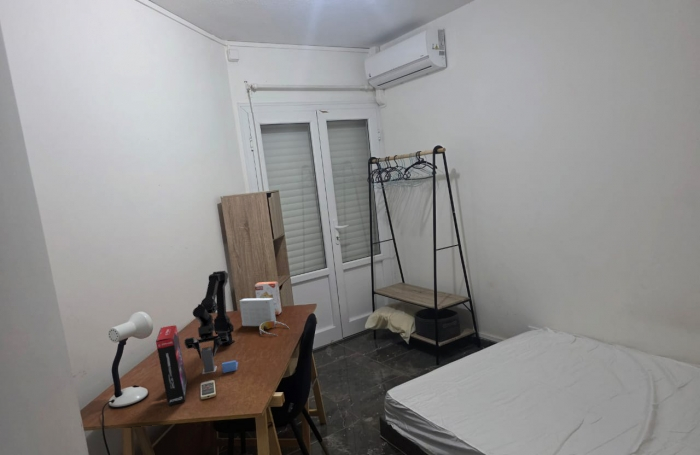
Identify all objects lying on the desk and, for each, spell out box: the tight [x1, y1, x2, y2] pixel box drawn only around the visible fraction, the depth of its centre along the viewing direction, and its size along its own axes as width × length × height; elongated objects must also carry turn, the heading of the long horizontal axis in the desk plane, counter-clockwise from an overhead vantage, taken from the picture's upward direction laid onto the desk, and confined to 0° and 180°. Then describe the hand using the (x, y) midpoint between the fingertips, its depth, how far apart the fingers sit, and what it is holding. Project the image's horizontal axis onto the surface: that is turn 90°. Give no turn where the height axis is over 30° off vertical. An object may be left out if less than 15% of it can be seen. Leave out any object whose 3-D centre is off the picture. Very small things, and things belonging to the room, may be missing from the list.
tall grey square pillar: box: [201, 346, 216, 373], centre depth 184 cm, size 4×4×10 cm
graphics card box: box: [155, 324, 188, 407], centre depth 165 cm, size 17×7×27 cm, turn 20°
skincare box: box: [238, 297, 277, 327], centre depth 243 cm, size 21×5×16 cm, turn 71°
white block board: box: [201, 359, 239, 375], centre depth 186 cm, size 20×13×5 cm, turn 103°
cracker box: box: [254, 281, 282, 316], centre depth 261 cm, size 14×6×21 cm, turn 81°
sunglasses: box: [259, 320, 289, 337], centre depth 229 cm, size 14×15×5 cm
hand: (207, 357), depth 183 cm, fingers open, 5 cm apart
